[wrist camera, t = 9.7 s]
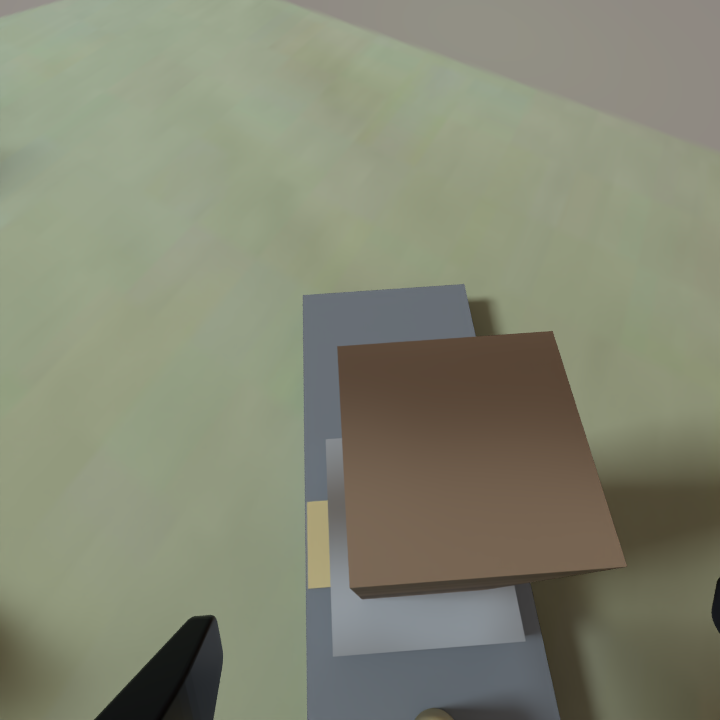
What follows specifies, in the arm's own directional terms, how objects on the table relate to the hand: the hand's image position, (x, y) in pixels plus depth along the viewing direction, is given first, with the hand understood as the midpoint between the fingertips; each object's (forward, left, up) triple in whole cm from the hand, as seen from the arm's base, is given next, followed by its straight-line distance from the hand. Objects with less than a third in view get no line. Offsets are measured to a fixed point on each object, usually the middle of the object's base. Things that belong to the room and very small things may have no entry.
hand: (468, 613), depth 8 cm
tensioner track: (+4, -2, -10) cm, 12 cm away
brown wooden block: (+2, -1, -9) cm, 9 cm away
